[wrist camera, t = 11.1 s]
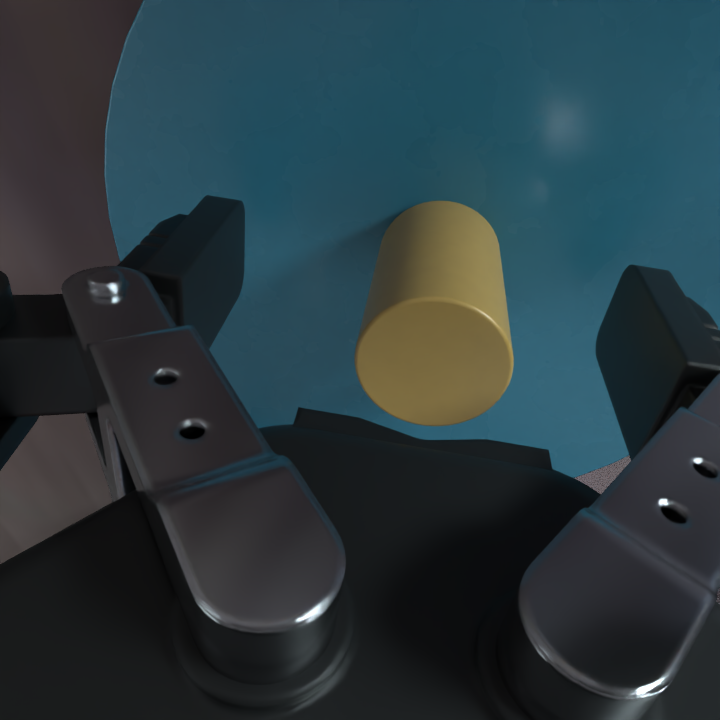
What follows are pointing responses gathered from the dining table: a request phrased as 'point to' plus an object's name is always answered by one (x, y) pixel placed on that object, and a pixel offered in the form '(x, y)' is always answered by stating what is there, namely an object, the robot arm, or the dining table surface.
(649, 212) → the tin lid
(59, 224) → the dining table surface
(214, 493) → the robot arm
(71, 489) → the dining table surface
